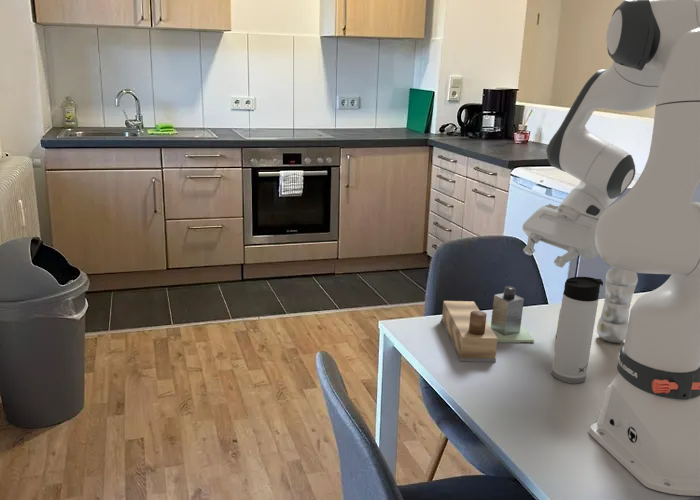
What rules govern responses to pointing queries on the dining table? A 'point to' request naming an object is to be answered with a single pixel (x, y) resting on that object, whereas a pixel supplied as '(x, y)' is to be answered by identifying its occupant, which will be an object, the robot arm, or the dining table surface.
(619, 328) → the plastic bottle
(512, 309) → the lever cap
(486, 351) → the plane body
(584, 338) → the travel mug
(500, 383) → the dining table surface
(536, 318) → the dining table surface
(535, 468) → the dining table surface
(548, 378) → the dining table surface
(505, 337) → the felt mat
